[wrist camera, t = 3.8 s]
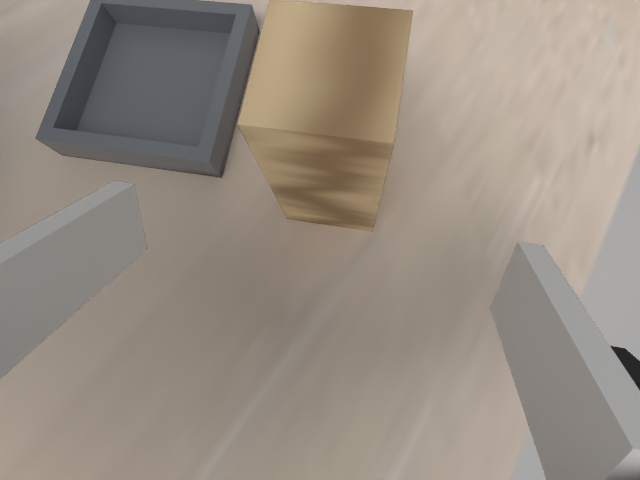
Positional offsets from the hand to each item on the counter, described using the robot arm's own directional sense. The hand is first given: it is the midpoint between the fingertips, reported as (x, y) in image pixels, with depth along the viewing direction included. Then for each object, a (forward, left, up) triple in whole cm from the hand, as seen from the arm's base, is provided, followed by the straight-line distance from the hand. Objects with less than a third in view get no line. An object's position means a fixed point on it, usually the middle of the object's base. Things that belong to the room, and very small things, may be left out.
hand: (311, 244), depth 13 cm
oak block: (-4, +6, -12) cm, 14 cm away
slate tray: (-20, +5, -12) cm, 24 cm away
